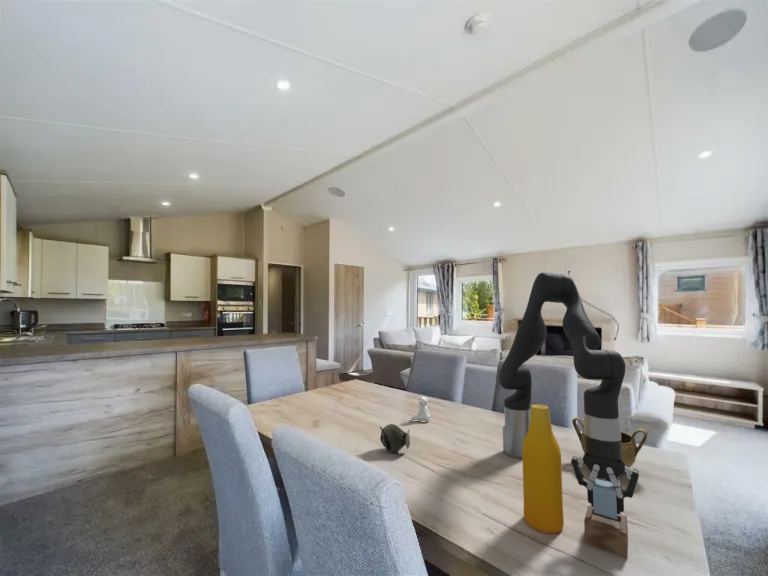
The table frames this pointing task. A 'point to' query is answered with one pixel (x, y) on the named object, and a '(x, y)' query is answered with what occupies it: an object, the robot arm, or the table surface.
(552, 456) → the beer bottle
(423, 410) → the sitting furry creature
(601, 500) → the lid block
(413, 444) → the table surface
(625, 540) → the walnut base
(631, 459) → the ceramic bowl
